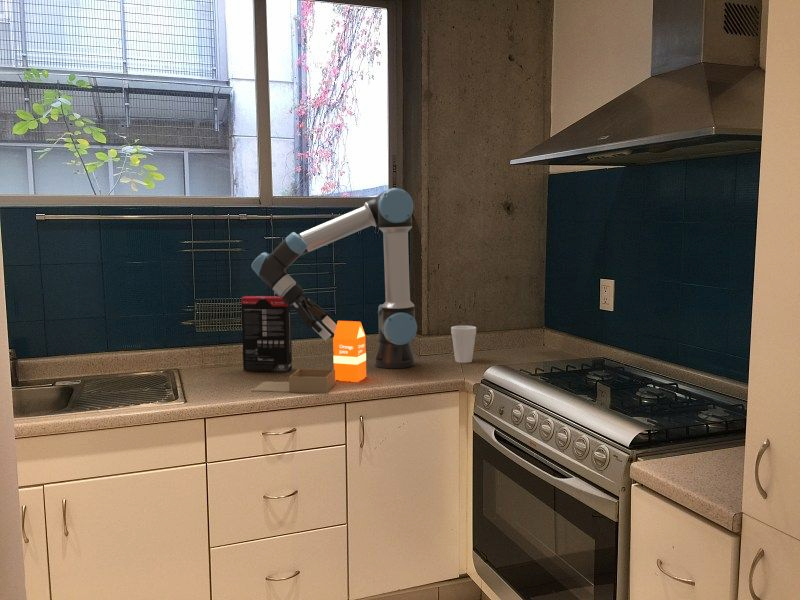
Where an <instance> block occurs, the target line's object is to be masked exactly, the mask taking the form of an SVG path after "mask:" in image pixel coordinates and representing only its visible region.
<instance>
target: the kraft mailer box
mask: <svg viewBox="0 0 800 600" xmlns="http://www.w3.org/2000/svg"><path fill="white" fill-rule="evenodd" d="M336 383H337V381H336V380H335V369H334V368H333V369H331V368H298V369H297V370H296V371H294V372H293V373H292V374H291V375H289V376H288V381H263V382H261V383H260V384H259V385H257V386H256V387H254V388H253V389H251V392H259V391H273V392H272V393H311V394H312V393H313V394H314V393H315V394H316V393H317V394H320V393H322V394H327V393H329V392H330V390H332V389H333V388H334V386H335V385H336Z"/></svg>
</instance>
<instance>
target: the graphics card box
mask: <svg viewBox="0 0 800 600" xmlns="http://www.w3.org/2000/svg"><path fill="white" fill-rule="evenodd" d="M282 298H283V297H279V296H278V295H275V296H273V295H271V296H270V295H269V296H268V295H266V296H265V295H261V296H260V295H256V296H255V295H246V296H245V295H244V296H241V297H240V301H241V302H240V303H241V307H240V308H241V329H242V331H241V333H242V364H243V365H242V366H243V367H242V370H243V371H244V372H245V371H247V372H249V371H250V372H252V371H253V372H279V373H281V372H283V373H287V372H289V371H290V370H291V369H293V353H292V352H293V347H292V346H293V345H292V306H288V305H287V304H286V303H285V302H284V301H283V300H282Z"/></svg>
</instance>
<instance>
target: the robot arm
mask: <svg viewBox="0 0 800 600" xmlns="http://www.w3.org/2000/svg"><path fill="white" fill-rule="evenodd" d="M413 212H414V202H413V198H412V197H411V194H409V192H407V191H406V190H405V189H402V188H399V187H392V188H391V187H390V188H388V189H386V190H384V191H382V192H381V193H380V194H378V195H376V196H375V197H374V198H371V199H370V200H367V201H366V202H364V205H362V206H361V207H358V208H356V209H353V210H351V211H348V212H347V213H344V214H342V215H339V216H337V217H335V218H333V219H330V220H328V221H325V222H323V223H321V224H318V225H316V226H314V227H312V228H309V229H307V230H304V231H302V232H300V233H296V232H295V231H293V232H290V234H288V235H287V236H286V237H285V238H284V239H283V240H282V241H281V242H280V243H279V245H278V246H277V247H275V249H274V250H273V251H272V252H270V253H268V252H266V251H265V252H262V253H260V254H259V255H258V256H256V258H255V259H254V260H253V261H252V263H251V267H250V268H251V269H252V271H254V273H255V274H256V275H257V276H258V277H259V278H260V279H261V280H262V282H264V283H265V284H266V285H267V286H268V287H269V288H270V289H271V290H272V291H273V294H274V295H276V296H279V297H283V298H282V300H283V301H284V302H285V303H286V304H287V305H288V306H291V308H292V309H293V310H294V311H295V312H296V313H297V315H299V318H300V319H301V320H302V321H303V323H304V324H305V325H306V326H307V328H308V329H309V330H310V329H311V328H312V329H313V330H314V331H315V332H316V333H317V334H318V335H319V337H321V338H322V340H324V342H326V341H327V340H328V339H329V338H330V337H331V336H332V334H331V333H330V332H329V331H328V330H327V329H326V328H328V329H329V330H330V331H331V332H332V333H333V334H335V330H336V326H337V323H336V322H334V320H333V319H332V318H330V317H329V316H328V315H329V314H330V313H329V312H328V311H326V310H324V309H323V308H322V307H320V306H319V305H318V304H317V303H315V302H314V301H313V300H311V298H309V296H305V297H304V296H303V295H304V293H305V289H304V288H302V286H301V285H300V284H299V283H297V281H296V280H295V279H293V277H292V276H291V275H290V274H288V272H286V271H287V269H288V268H289V266H291V265H292V264H293V263H294V262H295V261H296V260H297V259H298V258H299V257H300V256H301V257H302V256H304V255H306V254H308V253H309V252H313V251H315V250H317V249H319V248H322V247H324V246H327V245H330V244H331V243H334V242H336V241H338V240H340V239H343V238H345V237H348V236H350V235H352V234H355V233H357V232H359V231H362V230H364V229H366V228H370V227H371V226H372V227H374V228H376V227H378V229H379V231H381V232H382V234H383V260H384V262H383V263H384V264H383V265H384V266H383V267H384V290H385V294H384V295H385V302H383V304H379V305H378V310H377V314H378V346H377V348H376V349H377V350H376V353H375V356H374V366H375V367H377V368H382V369H404V368H410V367H413V366H415V363H416V362H415V361H416V360H415V359H416V358H415V355H414V352H413V349H412V347H411V341H413V340H414V338H415V337H416V335H417V331H418V324H417V320H416V313H415V312H416V310H415V309H416V308H415V307H416V306H415V304H414V303H413V302H412V300H411V291H410V287H411V285H410V262H409V261H410V259H409V231H410V230H412V228H413V217H412V216H413ZM314 316H315V317H317V318H318V319H320V320H321V322H322V323H323V324H324V325H325V326H326V328H325V327H324V326H323V325H322V324H321V323H320V322H319V320H318V321H317V320H316V319H315V317H314Z"/></svg>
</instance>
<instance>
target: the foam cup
mask: <svg viewBox="0 0 800 600" xmlns="http://www.w3.org/2000/svg"><path fill="white" fill-rule="evenodd" d="M450 333H451V338H452V339H451V340H452V345H453V354H454V360H455V362H456V363H461V364H462V363H464V364H467V363H472V362H473V357H474V351H475V350H474V349H475V342H476V335H477V327H476V326H474V325H455V326H454V325H453V326H451V327H450Z"/></svg>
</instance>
